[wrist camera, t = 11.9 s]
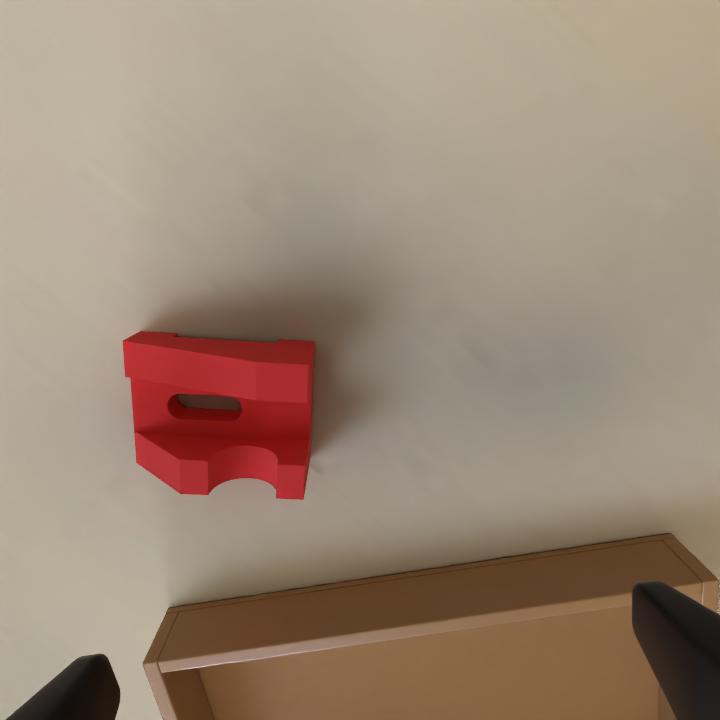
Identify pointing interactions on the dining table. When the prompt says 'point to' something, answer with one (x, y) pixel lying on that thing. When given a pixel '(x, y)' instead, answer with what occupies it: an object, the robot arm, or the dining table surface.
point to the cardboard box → (432, 643)
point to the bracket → (222, 427)
